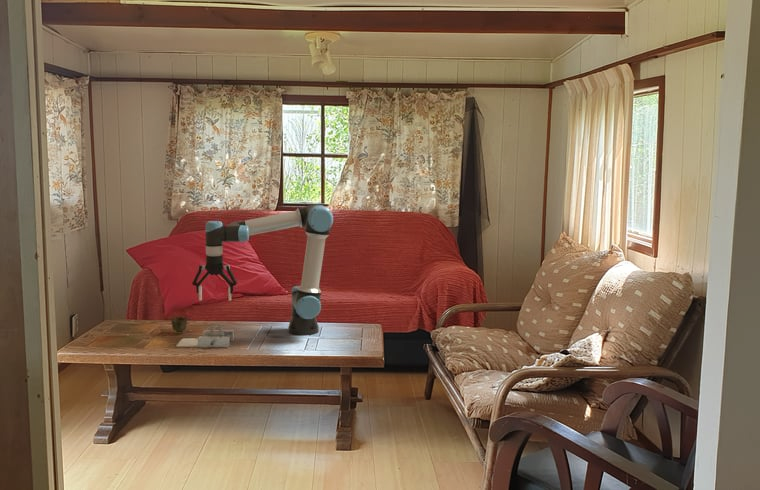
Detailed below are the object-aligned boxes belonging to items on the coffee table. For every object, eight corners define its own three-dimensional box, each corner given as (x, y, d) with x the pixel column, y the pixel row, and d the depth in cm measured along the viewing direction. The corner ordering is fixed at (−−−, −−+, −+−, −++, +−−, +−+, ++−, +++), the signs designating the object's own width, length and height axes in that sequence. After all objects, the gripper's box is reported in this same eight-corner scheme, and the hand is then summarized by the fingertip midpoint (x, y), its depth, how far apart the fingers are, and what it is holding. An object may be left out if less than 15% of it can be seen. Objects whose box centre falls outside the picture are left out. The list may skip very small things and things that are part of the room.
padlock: (207, 344, 319) (207, 323, 318) (209, 342, 323) (209, 321, 322) (223, 344, 319) (222, 323, 318) (224, 342, 323) (224, 321, 322)
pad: (201, 339, 327) (201, 338, 327) (196, 346, 315) (196, 345, 315) (182, 339, 327) (182, 338, 327) (176, 346, 315) (176, 345, 315)
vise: (234, 339, 329) (233, 330, 328) (227, 349, 312) (227, 339, 311) (204, 339, 328) (204, 329, 327) (196, 349, 311) (196, 339, 311)
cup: (190, 333, 338) (190, 317, 337) (180, 336, 332) (180, 320, 330) (178, 331, 341) (178, 315, 340) (168, 334, 335) (168, 318, 334)
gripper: (243, 253, 320) (243, 298, 323) (189, 253, 319) (190, 298, 322) (240, 256, 312) (240, 302, 315) (184, 255, 312) (186, 301, 315)
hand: (215, 300), depth 319 cm, fingers open, 13 cm apart
